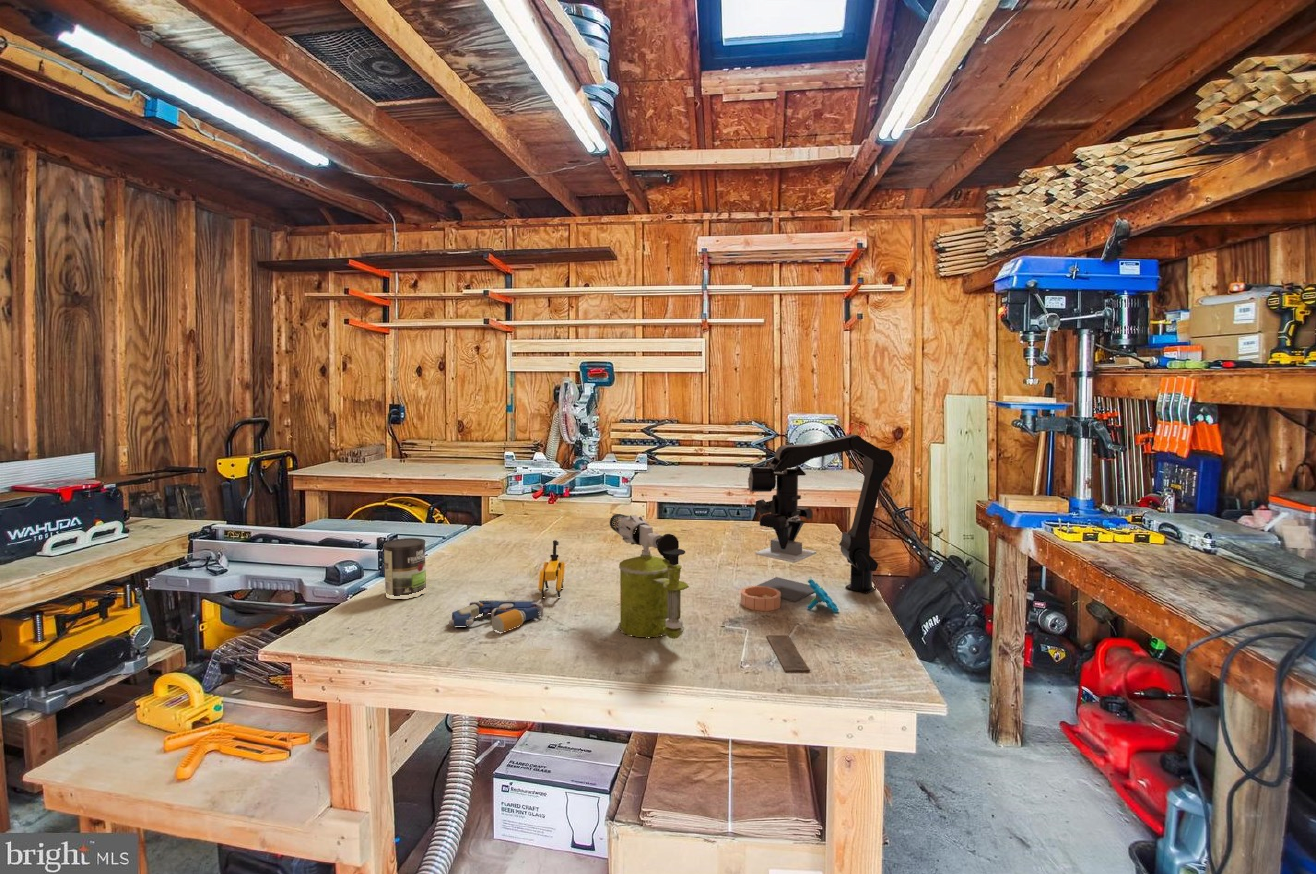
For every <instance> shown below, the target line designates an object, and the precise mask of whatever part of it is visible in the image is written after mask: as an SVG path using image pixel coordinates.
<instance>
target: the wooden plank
mask: <svg viewBox="0 0 1316 874" xmlns="http://www.w3.org/2000/svg"><path fill="white" fill-rule="evenodd" d="M766 639H767V640H768V643H769V645H770V646H771V648H772V651H773V653H774V654H775V656H776V657H777V659H778V661H779V663H780V664H781V667H782V668H783V670H784V672H785V673H810V672H811V669H810V668H809V666H808V664H806V662H805V660H804V658H803V657H802V655H801V654H800V653H799V651H798V649H797V646H796V645H795V643H794V642H793V640H792V639H791V637H790V635H788V634H781V635H775V634H774V635H773V634H770V635H767V634H766Z"/></svg>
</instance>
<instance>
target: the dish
mask: <svg viewBox="0 0 1316 874" xmlns="http://www.w3.org/2000/svg"><path fill="white" fill-rule="evenodd" d="M781 601H782V598H781V592H780V591H778V590H777V589H775V588H771V587H766V586H757V585H749V586H746V587H742V588H741V589H740V605H742V606H743V607H744V608H745V609H750V610H752V611H759V612H760V611H762V612H768V611H775V610H777V609H779V608H781V603H782V602H781Z"/></svg>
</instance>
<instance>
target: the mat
mask: <svg viewBox="0 0 1316 874" xmlns="http://www.w3.org/2000/svg"><path fill="white" fill-rule="evenodd" d="M756 586H766V587H771V588H775V589H777V590H778V591H780V592H781V600H786V601H789V602H794V603H796V602H798V601H801V600H802V599H804V598H806V597H809V596H810V595H812V594H814V593H815V592H814V591H813V590H814V589H813V588H811V587H810V585H809V583H808V584H807V583H803V582H799V581H795V580H791V579H786V578H783V577H778V576H775V577H773V578H771V579H768V580H766V581H764V582H762V583H759V584H757V585H756Z"/></svg>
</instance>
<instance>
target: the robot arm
mask: <svg viewBox="0 0 1316 874" xmlns="http://www.w3.org/2000/svg"><path fill="white" fill-rule="evenodd" d="M849 451H852V452H854V453H855V454H856V455H857V456H858V457H860V458H862V460H863V461H862V470H863V476H864V477H863V478H864V479H863V482H862V485H861V490H860V495H859V498H858V502H857V507H856V510H855V514H854V517H853V522H852V526H851V528H850V529H848V532H846V531H842V534H841V539H840V540H841V541H840V542H839V543H838V545H839V546H840V553H842V556H844V557H845V558H846V560H847V563H848V564H850V575H849V576H850V579H849V580H850V582H849V584H847V585H845V589H847V590H851V591H856V592H859V593H865V594H870V593H871V592H873V591H874V590H876V589H877V587H878V586H877V585H873V572H876V571H877V570H878V567H879V563H878V561H876V560H875V559H874V557H872V556H871V537H870V530H871V526H872V522H873V519H874V516H875V515H874V514H875V511H876V506H877V503H878V499H879V495H880V491H881V487H882V484H883V482H884V481H885V480H886V478H887V477H888V475H890V472H891V470H892V468H893V466H894V462H895V457H894V456H893V453H892V452H891V451H890V450H889V449H888V450H887V449H884V448H879V447H878V446H875V445H874V444H872V443H870V442H868V441H867V440H865V439H864V438H862V437H861V435H857V434H847V435H846V436H840V437H837V438H832V439H827V440H821V441H817V442H813V443H808V444H783V445H779V446H778V447H777V449H776V450H775V453H774V457H773V458H772V460H771V461H770V462H769V464H768V465H767V466H766V467H763V466H762V467H761V466H759V467H757V466H750V471H749V474H748V478H747V480H748V481H747V484H748V486H747V487H748V490H749V493H760V492H761V493H763V492H765V493H768V492H769V493H771V492H772V491H773V490H775V488H776V490H775V491H776V493H775V494H773V495H772V499H771V500H769V501H765V499H764V498H762V499H759V500H756V501H755V506H754V507H755V508H754V509H755V511H756V512H758V513H759V516H760V517H759V523H758V524H759V526H760V527H766V528H772V529H773V530H774V532H775V534H776V538H778V540H779V543H780V547H781V549H785V548H786V545H787V542H788V540H790V541H796V539H797V536H798V535H799V533H800V531H801V529H802V527H803V525H804V524H805V523H806V522H805V521H806V520H810V519H813V514H814V513H813V510H812V509H811V508H810V507H806V506H805V507H804V506H799V505H798V503H799V502H798V501H799V500H801V499H802V496H801V495H800V494H799V493H798V492H799V476H804V477H805V476H807V473H806V472H805V471H804V470H802V468H801V465H804V464H805V463H807V462H808V461H811V460H813V459H816V458H821V457H827V456H831V455H836V454H841V453H845V452H849ZM800 517H802V518H805V521H804V520H801V518H800ZM872 585H873V586H874V588H875V589H874V588H873V587H872Z"/></svg>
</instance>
